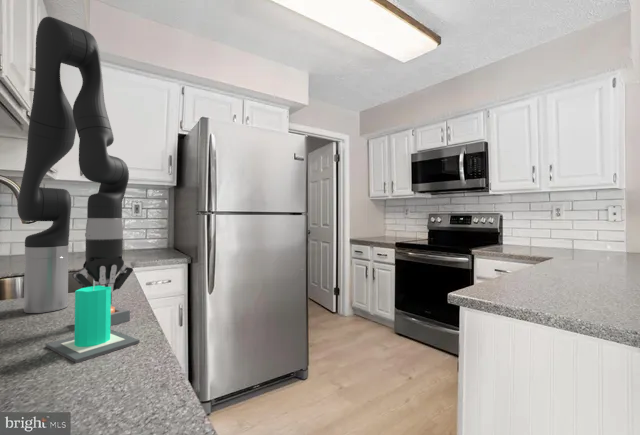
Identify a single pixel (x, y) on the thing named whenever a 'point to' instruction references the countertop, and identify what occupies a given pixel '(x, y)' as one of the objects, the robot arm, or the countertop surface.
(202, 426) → the countertop surface
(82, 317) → the candle
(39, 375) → the countertop surface
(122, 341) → the grey flat plate
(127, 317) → the button box
